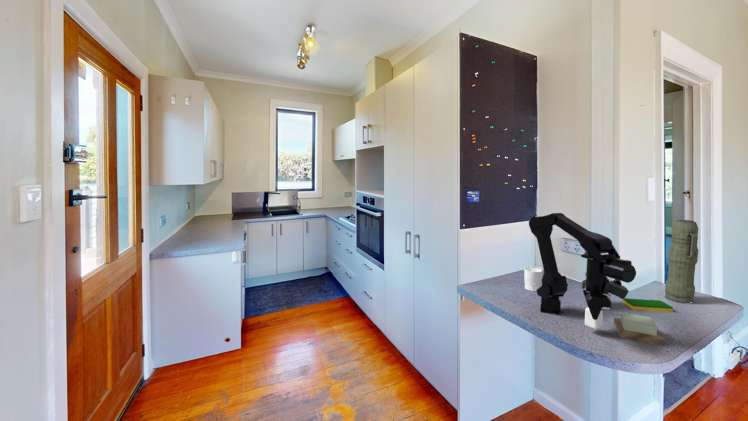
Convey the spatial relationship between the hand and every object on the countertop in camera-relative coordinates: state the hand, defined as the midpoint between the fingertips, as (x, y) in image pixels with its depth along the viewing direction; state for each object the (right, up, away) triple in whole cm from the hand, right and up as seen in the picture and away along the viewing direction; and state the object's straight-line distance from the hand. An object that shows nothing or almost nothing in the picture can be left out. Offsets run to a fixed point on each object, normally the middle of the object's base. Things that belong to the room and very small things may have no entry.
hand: (593, 316), depth 102 cm
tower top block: (+14, -4, -1) cm, 15 cm away
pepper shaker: (0, -4, 0) cm, 4 cm away
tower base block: (+14, -7, -1) cm, 16 cm away
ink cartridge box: (+19, -4, +22) cm, 29 cm away
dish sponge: (+37, -4, +20) cm, 42 cm away
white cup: (+1, -2, +42) cm, 42 cm away
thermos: (+57, -2, +26) cm, 63 cm away
